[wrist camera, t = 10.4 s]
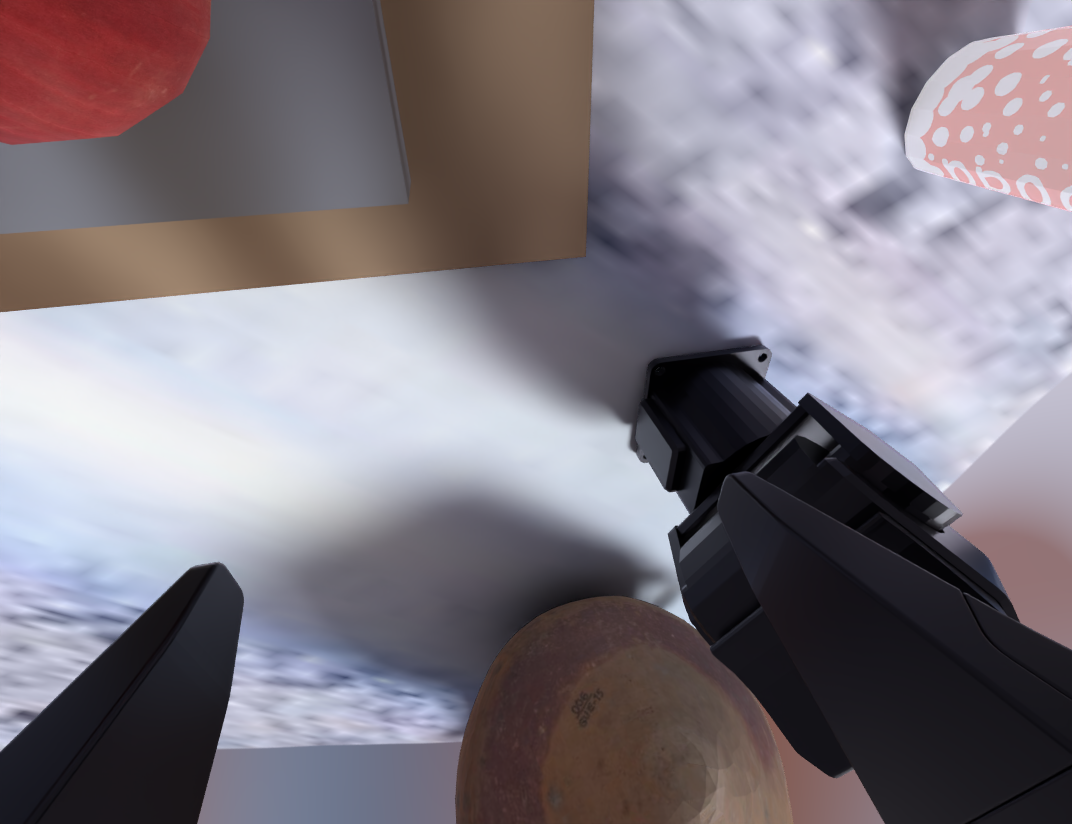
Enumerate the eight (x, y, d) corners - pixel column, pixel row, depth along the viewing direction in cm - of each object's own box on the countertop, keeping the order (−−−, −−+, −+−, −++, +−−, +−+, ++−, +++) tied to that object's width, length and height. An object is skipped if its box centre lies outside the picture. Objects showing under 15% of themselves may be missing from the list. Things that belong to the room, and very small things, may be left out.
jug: (516, 518, 28) (437, 681, 47) (459, 1098, 13) (379, 988, 33) (807, 583, 31) (621, 710, 50) (1023, 1106, 16) (644, 1001, 36)
